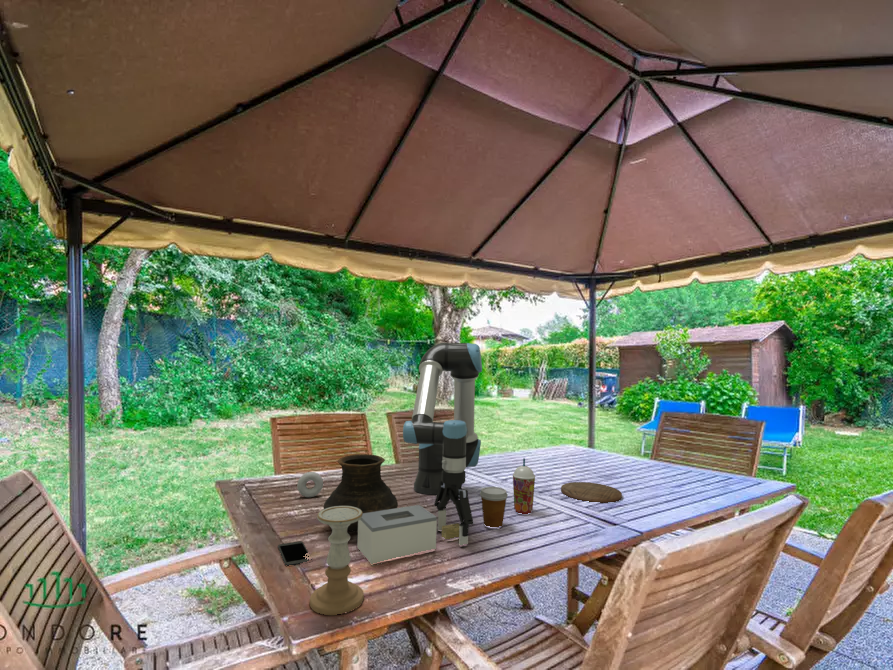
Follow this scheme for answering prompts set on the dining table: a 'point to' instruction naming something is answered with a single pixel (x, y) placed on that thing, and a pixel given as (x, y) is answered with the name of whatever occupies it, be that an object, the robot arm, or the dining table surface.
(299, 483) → the donut
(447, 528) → the yellow rectangular block
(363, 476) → the ceramic pot
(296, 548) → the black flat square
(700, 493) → the dining table surface
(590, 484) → the trivet
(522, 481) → the smoothie
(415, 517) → the box
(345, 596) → the candle holder
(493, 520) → the disposable coffee cup
